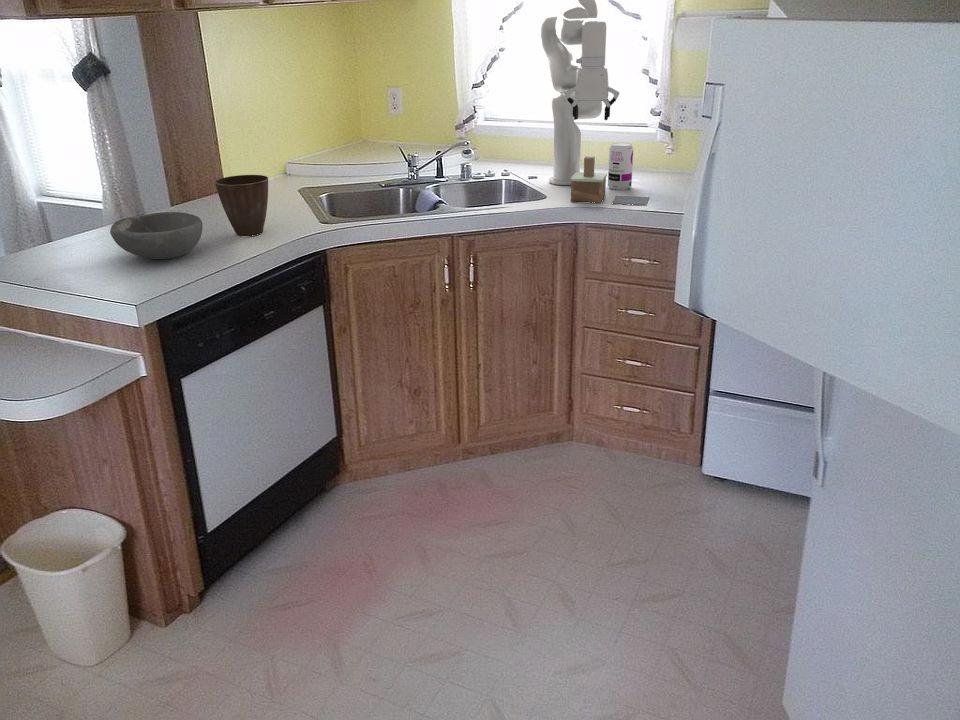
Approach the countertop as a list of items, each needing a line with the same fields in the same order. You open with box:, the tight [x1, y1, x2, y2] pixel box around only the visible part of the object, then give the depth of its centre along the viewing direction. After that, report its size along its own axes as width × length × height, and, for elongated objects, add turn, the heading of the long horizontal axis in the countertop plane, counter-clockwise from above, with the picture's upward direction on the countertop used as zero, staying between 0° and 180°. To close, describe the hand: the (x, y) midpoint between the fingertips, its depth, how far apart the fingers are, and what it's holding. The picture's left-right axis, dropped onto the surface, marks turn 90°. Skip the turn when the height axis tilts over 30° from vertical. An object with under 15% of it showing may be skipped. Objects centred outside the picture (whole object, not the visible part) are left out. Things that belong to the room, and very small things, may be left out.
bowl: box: [109, 211, 203, 260], centre depth 219 cm, size 23×22×10 cm
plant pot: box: [214, 174, 269, 237], centre depth 237 cm, size 15×15×16 cm
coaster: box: [611, 195, 650, 206], centre depth 268 cm, size 11×11×1 cm
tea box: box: [570, 177, 607, 204], centre depth 270 cm, size 10×10×7 cm
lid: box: [571, 156, 608, 182], centre depth 268 cm, size 10×10×8 cm
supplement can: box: [607, 142, 634, 191], centre depth 284 cm, size 8×8×15 cm
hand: (591, 119), depth 261 cm, fingers open, 9 cm apart
